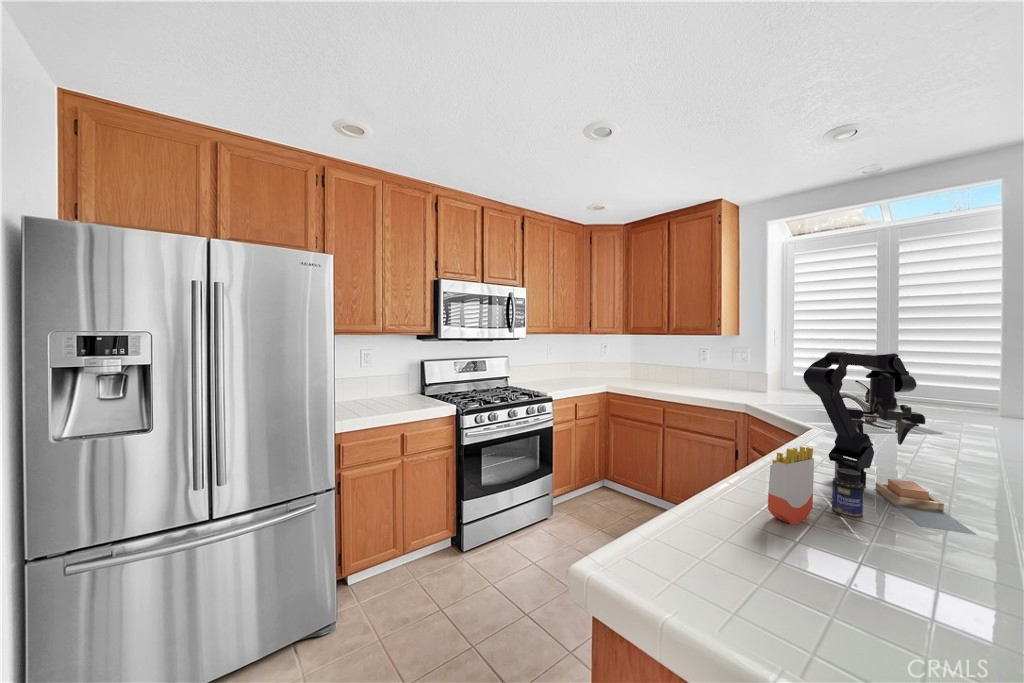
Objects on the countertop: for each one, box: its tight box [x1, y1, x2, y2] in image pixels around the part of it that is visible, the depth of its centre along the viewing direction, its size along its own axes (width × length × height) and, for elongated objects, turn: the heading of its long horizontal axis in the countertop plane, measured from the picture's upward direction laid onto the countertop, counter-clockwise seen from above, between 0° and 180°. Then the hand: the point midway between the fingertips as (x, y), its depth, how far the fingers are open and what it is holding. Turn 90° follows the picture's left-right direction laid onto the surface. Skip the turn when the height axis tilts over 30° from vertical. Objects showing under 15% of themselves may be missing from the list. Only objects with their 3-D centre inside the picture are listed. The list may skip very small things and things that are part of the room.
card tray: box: [875, 481, 945, 512], centre depth 110 cm, size 10×12×2 cm
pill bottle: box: [831, 468, 865, 519], centre depth 102 cm, size 6×6×11 cm
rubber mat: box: [874, 488, 978, 536], centre depth 105 cm, size 10×25×1 cm, turn 157°
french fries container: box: [767, 446, 815, 525], centre depth 99 cm, size 5×11×18 cm, turn 114°
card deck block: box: [887, 478, 930, 501], centre depth 110 cm, size 8×6×4 cm
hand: (880, 442), depth 126 cm, fingers open, 9 cm apart
